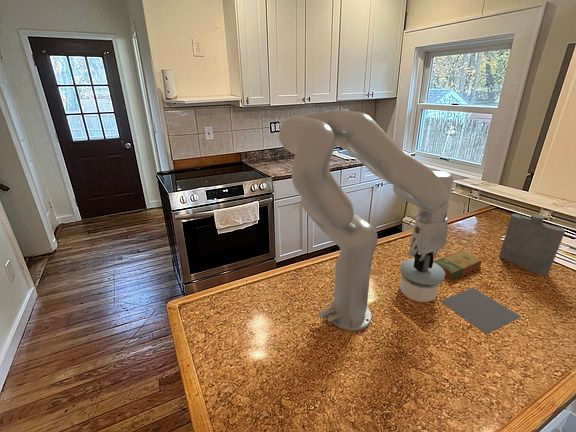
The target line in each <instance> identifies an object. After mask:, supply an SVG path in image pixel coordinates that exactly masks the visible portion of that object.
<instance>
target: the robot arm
mask: <svg viewBox="0 0 576 432" xmlns="http://www.w3.org/2000/svg"><path fill="white" fill-rule="evenodd" d="M278 137H279V142H280V144H281V146H282V147H283V148H284V149H285V150H286V151H288V152H289V153H291V154H293V155H294V158H293V161H292V168H291V182H292V185H293V186H294V189H295V191H296V192H297V194H298V195H299V196H300V199H301V200H300V201H301V206H302V208H303V210H304V212H305V213H306V214H307V215H308V217H310V219H311V220H312V221H313V222H314V223H315V224H316V226H317V227H318V228H319V229H320V230H321V231H322V232H323V233H324V234H325V235H326V236H327V237H328V238H330V240H331V241H332V242H334V243H335V244H336V245H337V246H338V247H339V250H340V253H339V254H338V256H337V258H336V260H335V264H334V265H335V267H334V271H335V272H334V287H333V289H334V290H333V291H334V292H333V293H334V294H333V301H332V302H330V305H329V306H328V307H327V309H323V310H321V311H319V312H318V315H319V318H320V319H324V318H327V322H328V323H332V324H333V325H334V326H335V325H336V326H335V327H337V328H339V329H341V330H343V329H344V331H349V332H355V331H356V332H357V331H361V330H365V329H366V328H368V326H369V325H370V324H371V322H372V312H371V310H370V308H369V307H368V301H369V299H368V298H369V289H370V279H371V269H372V262H373V257H374V254H375V252H376V251H375V250H376V248H377V245H378V243H379V242H378V239H379V237H378V233H377V230H376V229H375V228H374V226H372V224H370V223H369V222H368V221H367V220H366V219H364V218H362V217H360V216H359V215H357V214H356V213H355V210H354V206H353V204H352V201H351V200H350V198H349V197H348V195H347V194H346V193H345V192H344V191H343V189H342V187H340V185H339V184H338V182H337V181H336V180H335V178H334V176H333V175H332V172H331V171H330V170H331V169H330V164H331V160H332V157H333V153H334V150H335V147H336V146H337V147H339V148H342V149H345V150H346V151H347V152H349V153H350V154H351V155H352V156H353V157H354V158H355V159H356V160H358V161H359V162H360V163H361V164H363V166H364V167H365V168H366V169H367V170H369V171H370V172H371V173H372V174H373V175H375V176H376V177H378V178H379V179H381V180H383V181H385V182H386V183H389V184H391V185H393V186H392V190H393V193H394V194H395V196H396V197H398V198H399V199H400V200H402V201H405V202H407V203H409V204H412V205H414V206H416V207H418V211H417V215H416V217H417V218H416V219H415V222H414V226H413V228H412V232H411V237H410V244H409V245H410V246H409V247H410V248H409V250H408V251H407V254H408V255H409V256H412V257H413V258H414V259H415V260H414V268H415V269H417V270H418V271H420V272H422V271H423V267H424V260H423V259H424V255H425V254H428V255H429V256H430V262H429V267H428V268H432V266H433V261H435V257H436V256H437V252H438V251H439V250H441V249H443V248H444V247H445V246H446V241H447V235H448V216H447V215H448V209H449V206H450V205H449V204H450V200H451V195H452V190H453V185H454V176H453V175H452V174H451V173H449V172H447V171H442V170H431V169H430V168H429V167H428V166H426V165H424V164H423V163H422V162H421V161H420V160H418V159H416V158H414V157H413V156H412V155H411V154H409V153H408V152H407V151H405V150H403V149H402V148H401V147H400V146H399V145H398V144H397V143H396V142H395V141H394V140H393V139H392V138H391V136H389V135H388V133H386V132H385V131H384V129H382V127H381V126H379V124H378V123H377V122H376V121H375V120H374V119H373V118H372V117H371V116H370V115H368V114H365V113H363V112H359V111H354V110H345V109H342V110H341V109H339V110H338V109H337V110H330V111H323V112H321V111H320V112H313V113H305V114H296V115H293V116H290V117H288V118H287V119H285V120H284V121H283V122H282V124H281V125H280V128H279V132H278ZM419 254H420V255H419Z"/></svg>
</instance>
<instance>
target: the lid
mask: <svg viewBox="0 0 576 432" xmlns="http://www.w3.org/2000/svg"><path fill="white" fill-rule="evenodd" d="M418 254H419V255H420V253H418ZM414 260H415V258H408V259H405V260H403V261H402V262H401V263H400V267H399V271H400V274H402V275H403V276H404V277H405V278H407V279H408V280H410V281H412V282H415V283H418V284H423V285H436V284H439V285H440V284H441V283H442V282H443V281H444V280H445V279H446V277H445V271H444V270H443V268H442V267H440V266H439V265H438V264H436V263H434V262H433V266H432V268H428V267H429V262H430V256H429V255H428V254H425V255H424V259H423V260H424V267H423V271H422V272H420V271H418V270H417V269H415V268H414Z"/></svg>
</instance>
